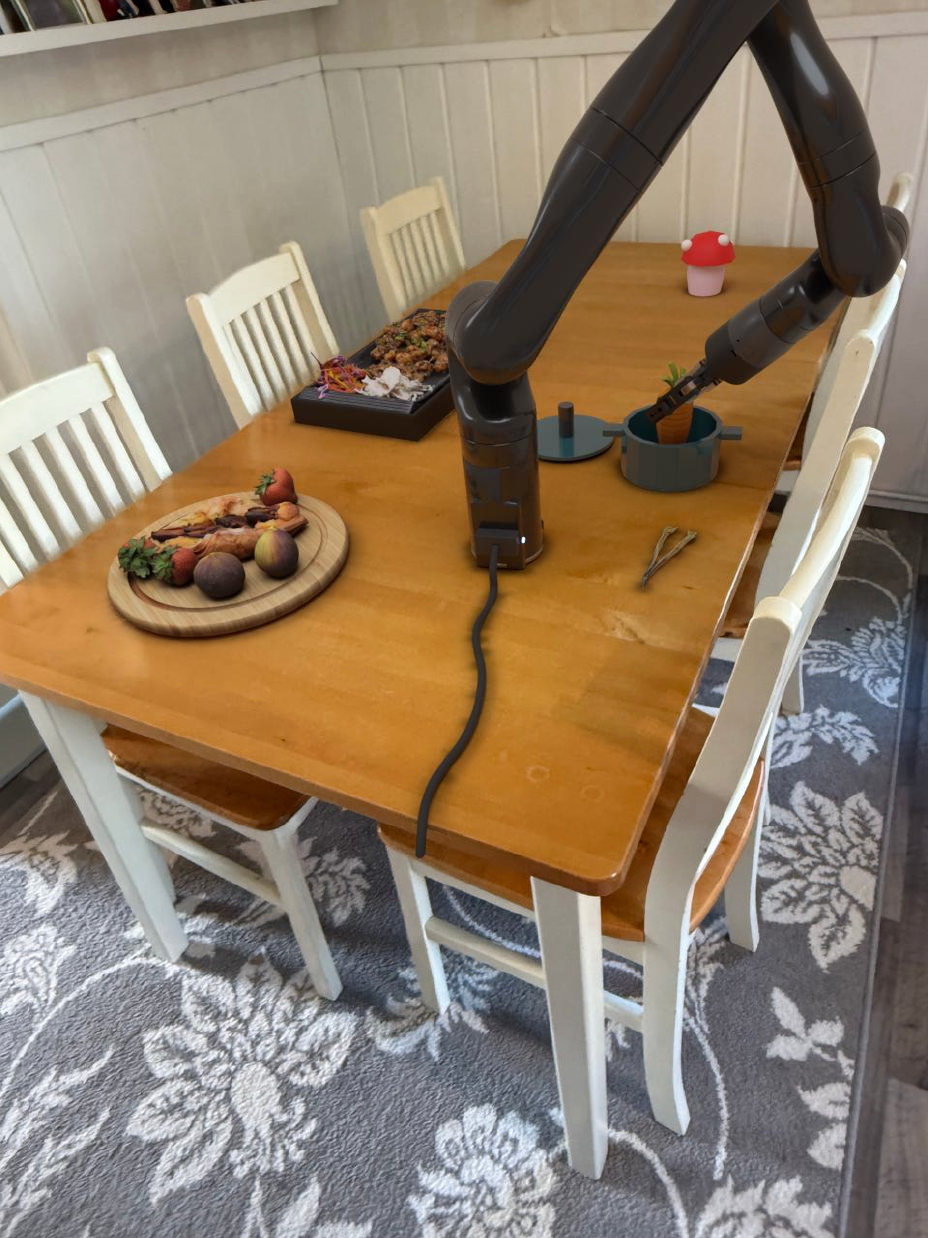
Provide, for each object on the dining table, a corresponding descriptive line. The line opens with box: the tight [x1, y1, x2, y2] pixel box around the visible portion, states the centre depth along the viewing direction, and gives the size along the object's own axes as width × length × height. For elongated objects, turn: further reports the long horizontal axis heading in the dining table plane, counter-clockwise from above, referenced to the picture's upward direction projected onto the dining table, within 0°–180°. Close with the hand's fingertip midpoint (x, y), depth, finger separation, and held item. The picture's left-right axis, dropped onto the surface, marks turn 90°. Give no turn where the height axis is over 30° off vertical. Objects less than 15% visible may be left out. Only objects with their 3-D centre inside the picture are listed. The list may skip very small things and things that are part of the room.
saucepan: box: [603, 404, 743, 493], centre depth 121 cm, size 14×19×7 cm
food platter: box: [290, 307, 455, 442], centre depth 155 cm, size 45×25×10 cm, turn 153°
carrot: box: [655, 361, 695, 444], centre depth 118 cm, size 5×5×15 cm
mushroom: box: [680, 230, 736, 297], centre depth 176 cm, size 11×11×12 cm
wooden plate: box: [106, 467, 350, 638], centre depth 112 cm, size 32×32×8 cm
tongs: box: [640, 525, 698, 589], centre depth 105 cm, size 4×13×2 cm, turn 151°
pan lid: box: [537, 401, 615, 462], centre depth 131 cm, size 15×15×6 cm
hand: (665, 406), depth 118 cm, fingers open, 8 cm apart
